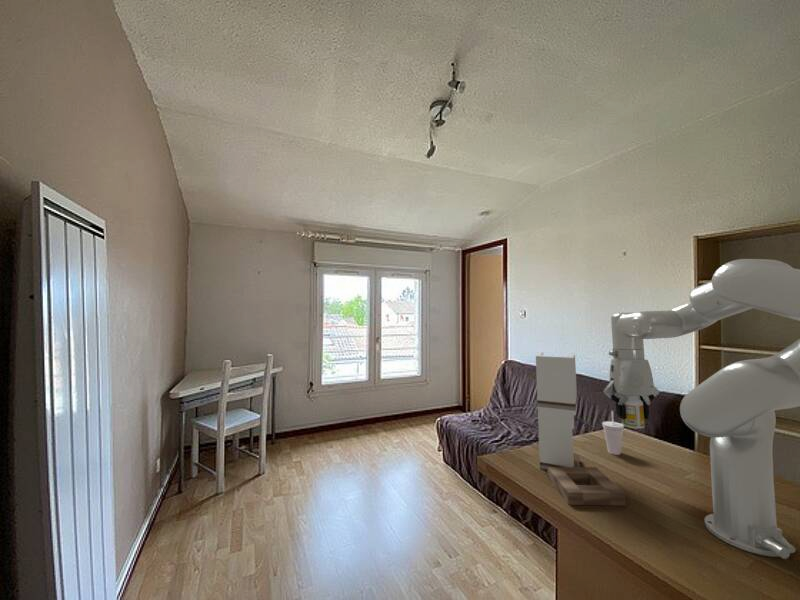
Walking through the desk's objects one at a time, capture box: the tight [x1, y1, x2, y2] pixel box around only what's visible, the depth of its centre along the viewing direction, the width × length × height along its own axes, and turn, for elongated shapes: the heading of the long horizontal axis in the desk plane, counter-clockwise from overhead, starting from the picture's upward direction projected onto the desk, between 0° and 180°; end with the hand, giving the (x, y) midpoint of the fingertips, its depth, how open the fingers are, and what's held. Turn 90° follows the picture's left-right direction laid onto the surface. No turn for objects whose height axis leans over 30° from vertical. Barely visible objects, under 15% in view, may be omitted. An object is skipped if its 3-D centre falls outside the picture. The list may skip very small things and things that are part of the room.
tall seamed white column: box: [535, 351, 581, 471], centre depth 107 cm, size 11×11×35 cm
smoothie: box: [601, 410, 625, 456], centre depth 114 cm, size 6×6×14 cm
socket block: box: [546, 466, 627, 506], centre depth 91 cm, size 14×14×3 cm
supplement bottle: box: [621, 396, 645, 430], centre depth 96 cm, size 5×5×10 cm
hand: (632, 417), depth 96 cm, fingers closed on supplement bottle, 5 cm apart
